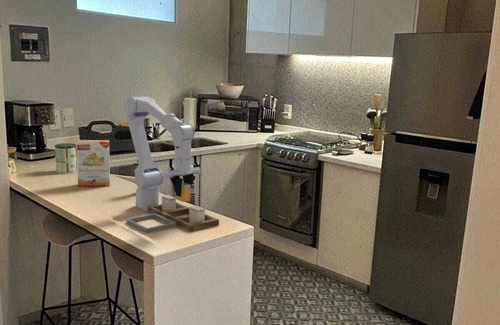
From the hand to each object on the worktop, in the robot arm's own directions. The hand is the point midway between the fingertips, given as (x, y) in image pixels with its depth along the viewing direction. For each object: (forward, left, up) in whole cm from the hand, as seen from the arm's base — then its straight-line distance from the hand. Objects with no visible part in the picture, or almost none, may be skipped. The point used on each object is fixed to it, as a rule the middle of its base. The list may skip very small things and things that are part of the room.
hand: (182, 195), depth 174 cm
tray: (0, -13, -9) cm, 16 cm away
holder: (0, 0, -9) cm, 9 cm away
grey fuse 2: (+9, 0, -9) cm, 12 cm away
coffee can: (-102, -2, -10) cm, 102 cm away
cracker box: (-67, -3, -10) cm, 68 cm away
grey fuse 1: (-9, 0, -9) cm, 12 cm away
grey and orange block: (0, 0, -2) cm, 2 cm away
